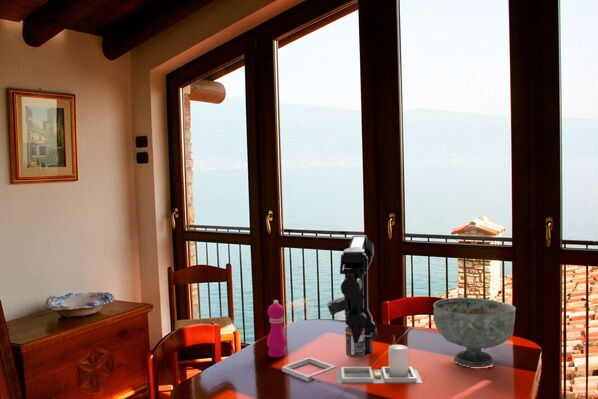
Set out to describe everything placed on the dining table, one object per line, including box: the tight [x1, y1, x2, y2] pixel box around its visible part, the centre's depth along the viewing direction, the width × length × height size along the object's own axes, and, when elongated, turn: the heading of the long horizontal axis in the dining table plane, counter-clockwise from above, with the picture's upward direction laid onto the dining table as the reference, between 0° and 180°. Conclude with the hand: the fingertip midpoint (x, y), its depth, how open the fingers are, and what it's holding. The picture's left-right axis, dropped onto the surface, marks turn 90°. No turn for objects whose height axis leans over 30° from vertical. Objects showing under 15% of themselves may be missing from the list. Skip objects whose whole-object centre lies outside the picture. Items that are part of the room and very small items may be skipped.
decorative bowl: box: [432, 297, 516, 367], centre depth 181 cm, size 26×26×20 cm
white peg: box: [388, 344, 409, 377], centre depth 167 cm, size 6×6×9 cm
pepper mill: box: [266, 299, 288, 358], centre depth 193 cm, size 7×7×20 cm
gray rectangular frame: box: [335, 366, 423, 384], centre depth 168 cm, size 26×11×2 cm, turn 87°
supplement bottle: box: [345, 325, 366, 359], centre depth 168 cm, size 6×6×11 cm
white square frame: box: [281, 357, 337, 382], centre depth 177 cm, size 13×13×2 cm
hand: (355, 339), depth 168 cm, fingers closed on supplement bottle, 6 cm apart
